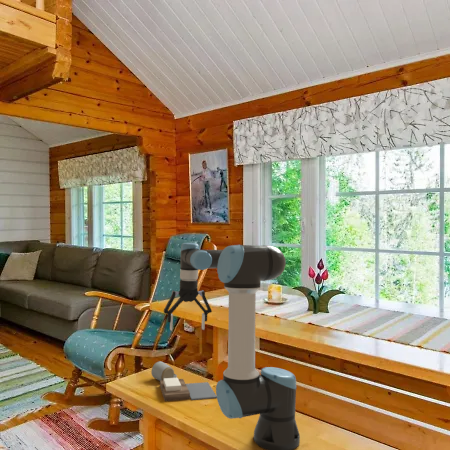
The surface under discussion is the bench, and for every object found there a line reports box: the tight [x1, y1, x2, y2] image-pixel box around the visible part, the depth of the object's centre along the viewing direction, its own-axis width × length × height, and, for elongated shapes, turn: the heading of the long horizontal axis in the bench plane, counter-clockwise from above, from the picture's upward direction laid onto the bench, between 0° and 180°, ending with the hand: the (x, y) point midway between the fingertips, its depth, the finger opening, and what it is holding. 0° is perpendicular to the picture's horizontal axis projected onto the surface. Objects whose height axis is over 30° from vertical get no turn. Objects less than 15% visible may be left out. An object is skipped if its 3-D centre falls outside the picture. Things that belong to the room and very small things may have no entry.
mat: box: [185, 381, 217, 401], centre depth 186 cm, size 16×10×1 cm, turn 15°
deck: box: [159, 378, 191, 402], centre depth 185 cm, size 16×10×2 cm, turn 15°
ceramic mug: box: [151, 361, 178, 381], centre depth 199 cm, size 11×8×8 cm
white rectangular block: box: [163, 377, 181, 391], centre depth 184 cm, size 9×6×2 cm, turn 15°
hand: (187, 329), depth 188 cm, fingers open, 13 cm apart
